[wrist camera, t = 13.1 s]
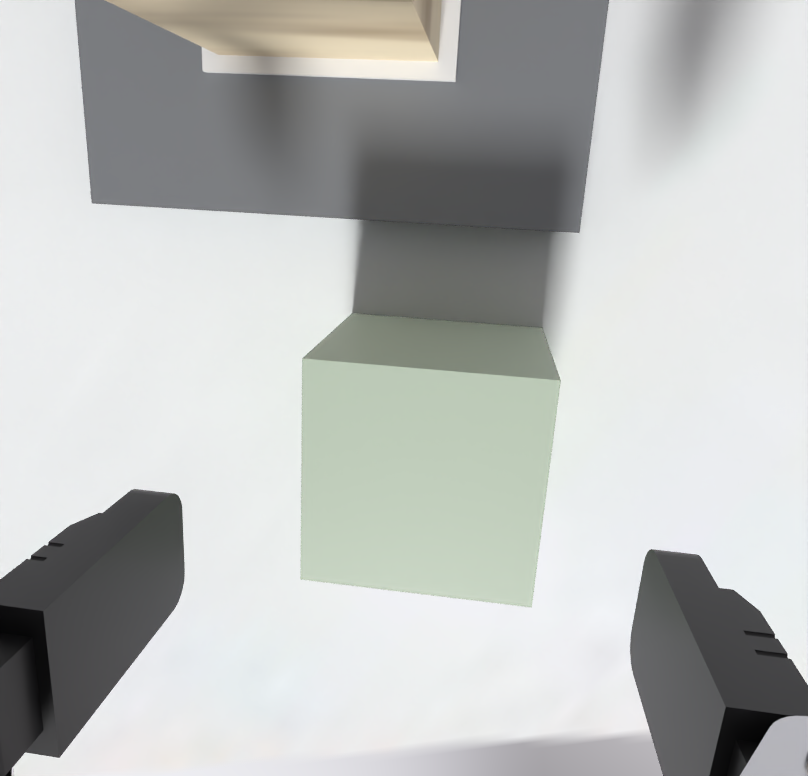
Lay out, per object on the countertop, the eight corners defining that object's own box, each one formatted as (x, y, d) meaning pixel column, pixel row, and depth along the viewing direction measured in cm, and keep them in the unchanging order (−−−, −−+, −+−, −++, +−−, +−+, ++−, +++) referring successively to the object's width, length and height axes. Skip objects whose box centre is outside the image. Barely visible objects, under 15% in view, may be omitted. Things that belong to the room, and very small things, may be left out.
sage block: (352, 312, 18) (302, 358, 13) (541, 327, 17) (560, 380, 13) (347, 482, 19) (300, 579, 15) (521, 500, 19) (531, 607, 14)
